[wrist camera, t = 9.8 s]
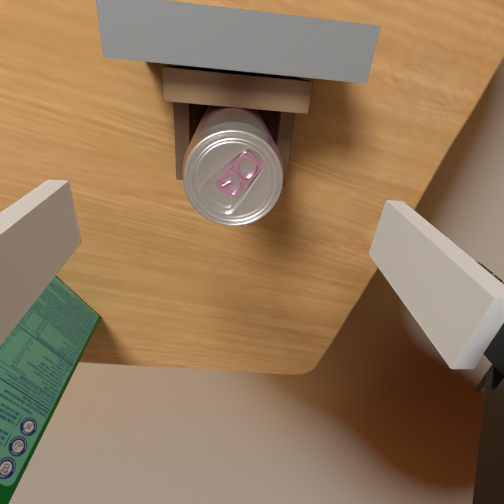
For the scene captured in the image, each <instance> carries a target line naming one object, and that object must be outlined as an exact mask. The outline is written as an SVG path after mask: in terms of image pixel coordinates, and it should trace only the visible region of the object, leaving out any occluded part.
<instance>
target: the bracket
mask: <svg viewBox="0 0 504 504" xmlns="http://www.w3.org/2000/svg"><path fill="white" fill-rule="evenodd" d="M162 82H163V101H169V102H174V123H175V153H176V179H177V180H183V177H182V165H183V160H184V156H185V153H186V151H187V149H188V147H189V144H190V142H191V140H192V138H193V104H203V105H214V106H226V107H237V108H248V109H260V110H271V111H276V112H275V121H274V129H273V138H272V139H273V141H274V143H275V144H276V146H277V148H278V150H279V152H280V155H281V158H282V161H283V168H284V177H283V185H282V186H283V187H285V181H286V174H287V167H288V160H289V153H290V147H291V140H292V133H293V126H294V119H295V113H305V114H308V109H309V103H310V97H311V91H312V85H313V82H311V81H308V80H305V79H302V78H298V77H295V76H285V75H275V74H265V73H255V72H245V71H235V70H225V69H215V68H205V67H195V66H185V65H172V66H166V67H162Z"/></svg>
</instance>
